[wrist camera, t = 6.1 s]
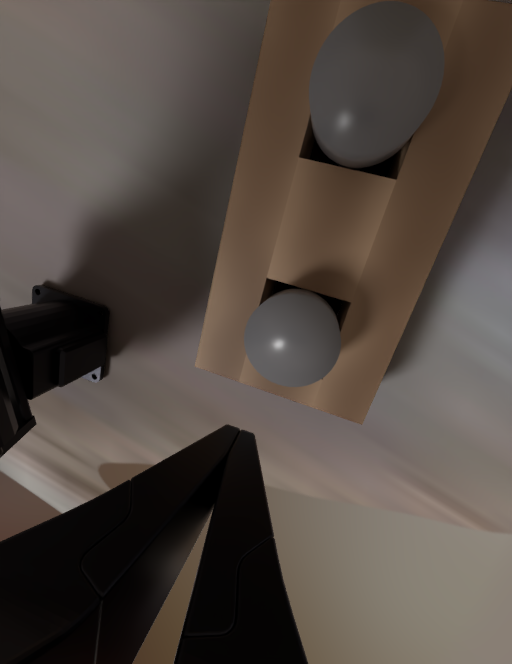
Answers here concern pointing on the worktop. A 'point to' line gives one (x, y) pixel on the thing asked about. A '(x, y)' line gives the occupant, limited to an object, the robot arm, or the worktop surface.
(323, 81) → the knob
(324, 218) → the mount
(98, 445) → the worktop surface
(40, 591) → the robot arm
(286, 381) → the knob
